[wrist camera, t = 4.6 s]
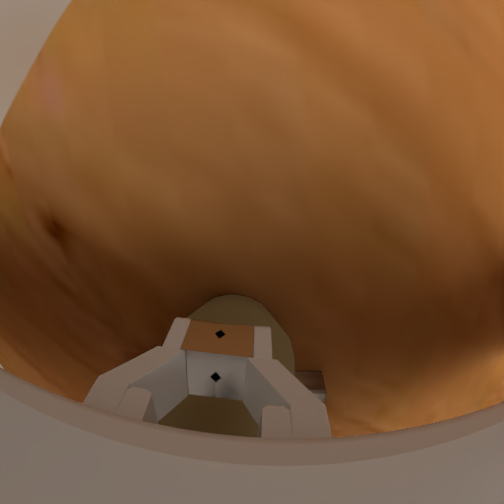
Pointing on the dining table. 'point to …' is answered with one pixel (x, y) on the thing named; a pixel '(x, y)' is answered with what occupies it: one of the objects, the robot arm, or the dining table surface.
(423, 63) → the dining table surface
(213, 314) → the squeeze bottle
